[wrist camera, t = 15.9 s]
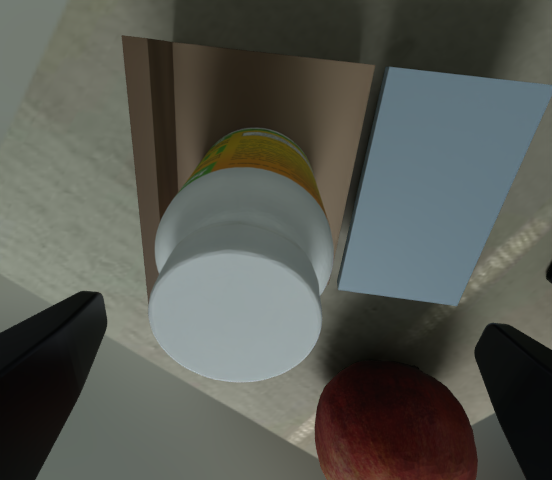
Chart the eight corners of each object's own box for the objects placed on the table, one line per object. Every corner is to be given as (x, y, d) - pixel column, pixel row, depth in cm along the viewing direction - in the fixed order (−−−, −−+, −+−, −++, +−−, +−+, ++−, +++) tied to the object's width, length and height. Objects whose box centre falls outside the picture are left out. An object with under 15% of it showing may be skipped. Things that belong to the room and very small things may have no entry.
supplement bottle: (221, 104, 15) (142, 171, 6) (333, 154, 16) (402, 272, 7) (186, 211, 17) (94, 368, 8) (285, 248, 18) (293, 422, 9)
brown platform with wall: (359, 63, 16) (398, 67, 11) (322, 256, 22) (337, 321, 16) (172, 42, 16) (121, 35, 11) (180, 244, 21) (148, 306, 16)
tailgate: (384, 66, 14) (539, 83, 14) (336, 278, 20) (449, 293, 19) (389, 66, 13) (555, 85, 13) (337, 289, 19) (457, 306, 18)
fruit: (463, 381, 27) (553, 535, 18) (366, 434, 31) (402, 587, 22) (383, 308, 24) (446, 456, 15) (282, 378, 27) (286, 532, 18)
